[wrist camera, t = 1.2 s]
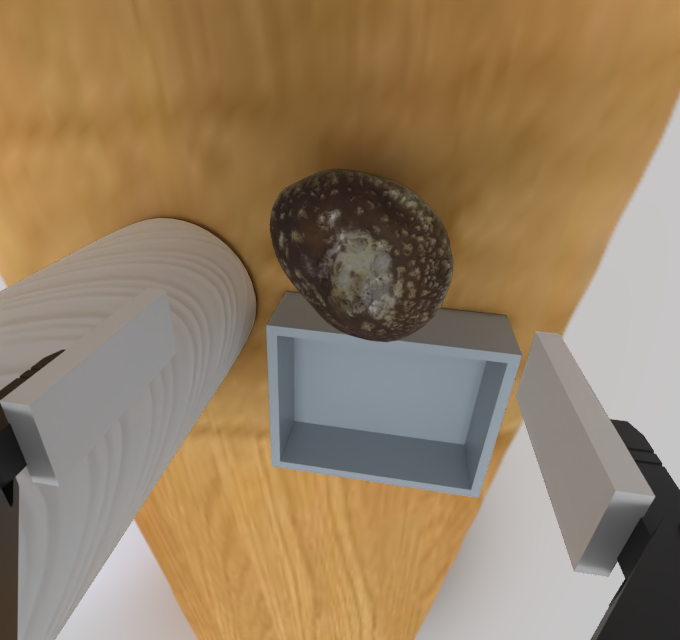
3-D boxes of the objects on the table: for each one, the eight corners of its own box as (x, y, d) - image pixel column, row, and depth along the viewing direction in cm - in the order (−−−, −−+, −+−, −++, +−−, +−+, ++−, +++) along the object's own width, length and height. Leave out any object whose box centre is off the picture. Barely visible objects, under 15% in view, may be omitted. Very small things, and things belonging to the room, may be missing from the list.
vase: (231, 199, 35) (-443, 649, 7) (279, 350, 41) (15, 891, 14) (80, 228, 38) (-779, 615, 11) (147, 364, 44) (-281, 824, 17)
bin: (286, 291, 38) (266, 325, 33) (506, 315, 36) (522, 355, 31) (288, 421, 45) (271, 466, 40) (470, 447, 43) (478, 497, 38)
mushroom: (455, 234, 33) (482, 334, 20) (353, 273, 36) (319, 382, 23) (411, 110, 30) (409, 136, 17) (301, 164, 33) (227, 221, 20)
